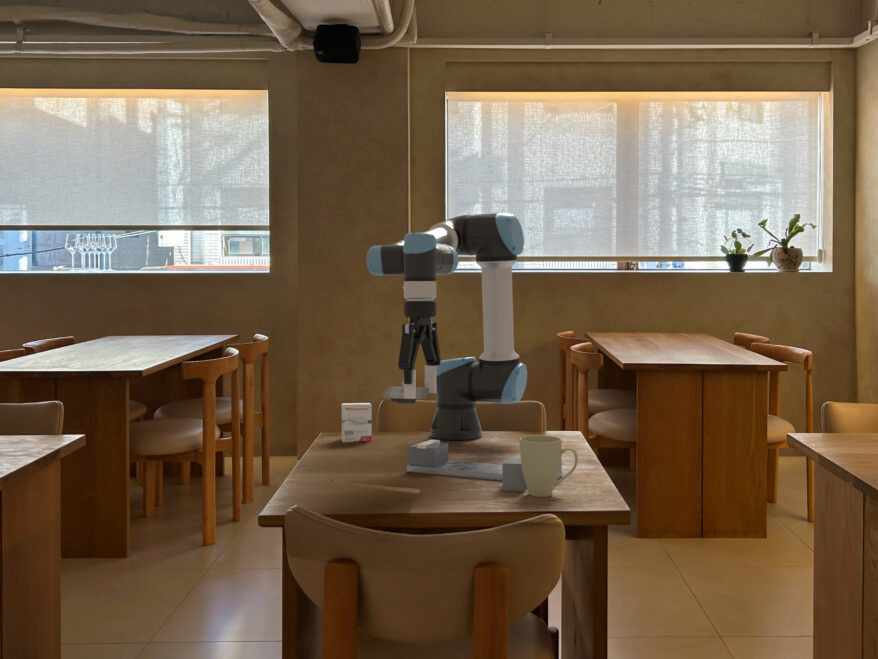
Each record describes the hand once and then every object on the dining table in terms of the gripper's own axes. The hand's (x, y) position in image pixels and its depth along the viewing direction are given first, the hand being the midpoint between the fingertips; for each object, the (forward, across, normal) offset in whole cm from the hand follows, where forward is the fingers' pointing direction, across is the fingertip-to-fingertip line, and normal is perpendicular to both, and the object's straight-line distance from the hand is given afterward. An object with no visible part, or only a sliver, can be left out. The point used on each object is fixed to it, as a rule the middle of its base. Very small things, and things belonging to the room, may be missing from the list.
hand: (420, 395), depth 196 cm
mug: (+20, +3, +31) cm, 37 cm away
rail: (+20, -11, +12) cm, 25 cm away
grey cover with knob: (+2, -1, 0) cm, 3 cm away
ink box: (+20, -34, -37) cm, 55 cm away
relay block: (+20, 0, +23) cm, 30 cm away
